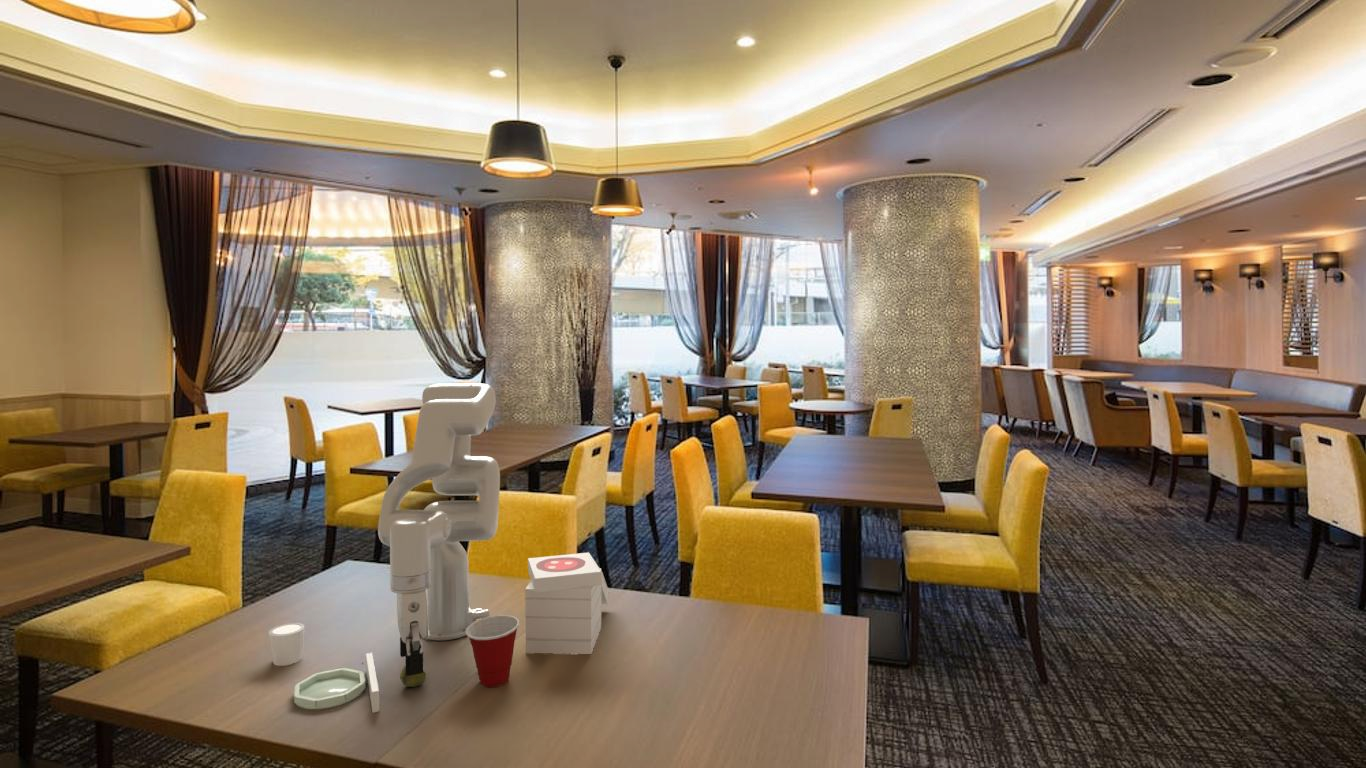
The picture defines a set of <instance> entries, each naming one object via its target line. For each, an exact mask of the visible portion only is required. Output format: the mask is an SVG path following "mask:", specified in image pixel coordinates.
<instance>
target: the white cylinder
mask: <svg viewBox="0 0 1366 768" xmlns="http://www.w3.org/2000/svg"><path fill="white" fill-rule="evenodd" d="M268 637H269V644H270V650H271V658H272V663H273V665H275V666H278V667H280V666H281V667H284V666H289V665H293V663H294V664H296V663H298V662H300V661H301V660H302V659H303V654H304V642H305V641H304V639H305V624H303V623H299V622H291V623H285V624H281V625H277V626H274V627H273V628H271V629H270V630H269V632H268Z"/></svg>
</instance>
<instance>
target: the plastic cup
mask: <svg viewBox="0 0 1366 768" xmlns="http://www.w3.org/2000/svg"><path fill="white" fill-rule="evenodd" d="M519 626H520V620H519V618H517V617H516V616H513V615H509V614H508V615H506V614H505V615H504V614H498V615H493V616H492V615H491V616H490V615H489V617H486V618H483V619H477V620H476V622H474V623H472V624H470V625H469V626H468V627H467V628H466V632H465V633H466V636H467V637H468V639H469V642H470V644H471V647H472V654H473V657H474V662H475V667H476V669H477V675H478V680H479V682H480V684H481V686H484V687H485V688H486V687H487V688H496V687H500V686H503V685H504V684H506V683H507V682H508V681H509V678H510V673H511V668H512V664H513V655H514V649H515V641H516V636H517V630H518V628H519Z"/></svg>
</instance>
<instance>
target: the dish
mask: <svg viewBox="0 0 1366 768" xmlns="http://www.w3.org/2000/svg"><path fill="white" fill-rule="evenodd" d="M366 687H367V685H366V679H365V672H364V671H363V670H357V669H352V668H348V667H341V668H337V669H330V670H325V671H321V672H320V671H319V672H316V673H313V674H312V675H310V676H308V677H307V678H304V679H303V680H301V681H299V682H297V683H295V685H294V695H293V703H294V704H295V706H297V707H298V708H301V709H305V710H324V709H330V708H335V707H338V706H341V705H344V704H347V703H350V702H351V701H353V700H355V699H357V698H358V697H360V696H361V695H362V694H363V692H364V691H365V689H366Z"/></svg>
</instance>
